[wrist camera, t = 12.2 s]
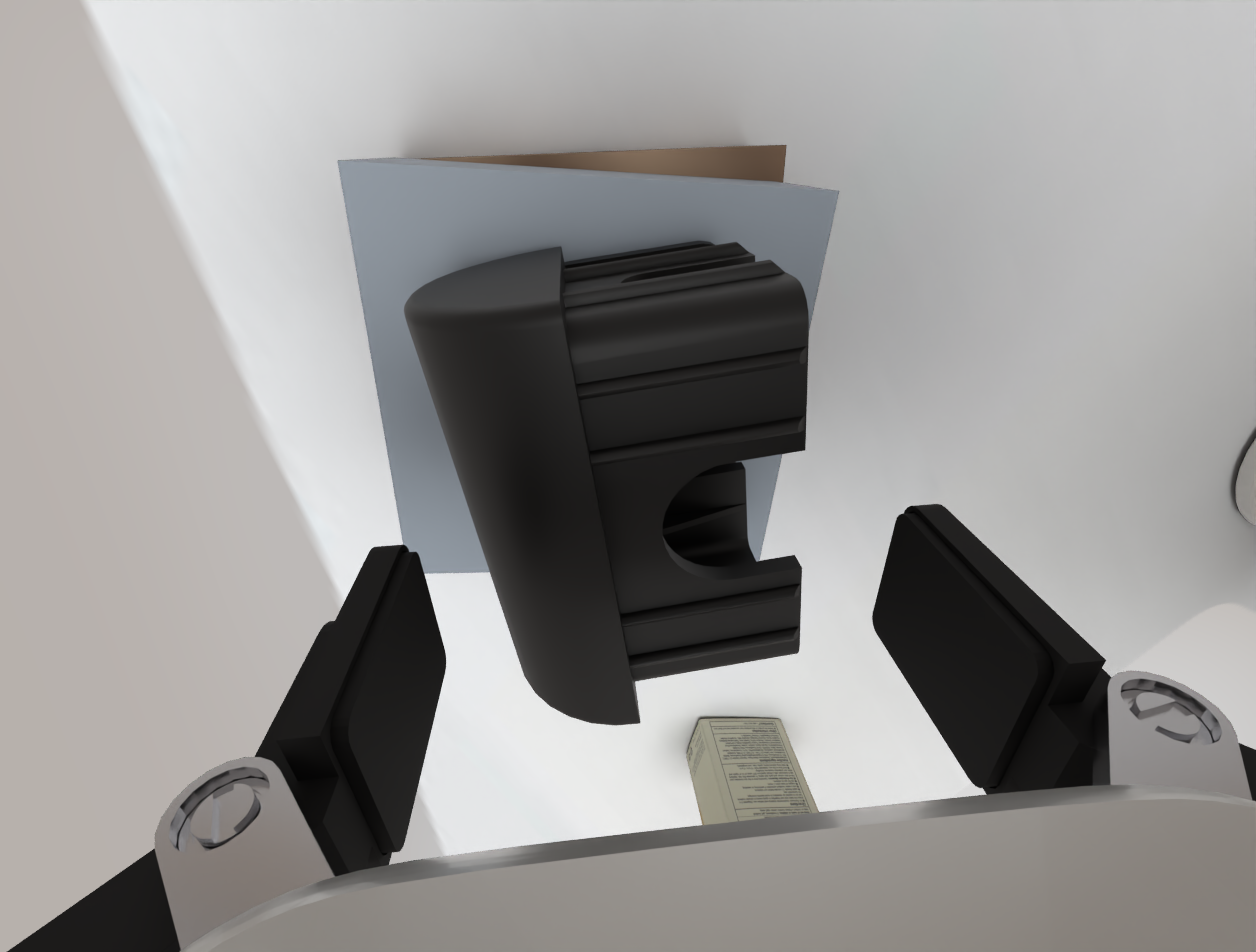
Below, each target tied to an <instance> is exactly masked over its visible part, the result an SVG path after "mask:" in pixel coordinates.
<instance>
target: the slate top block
mask: <svg viewBox="0 0 1256 952" xmlns="http://www.w3.org/2000/svg"><path fill="white" fill-rule="evenodd" d="M338 166H339V172H340V177H341V183H342V189H343V195H344V201H345V207H346V213H347V218H348V224H349V230H350V236H351V242H352V248H353V253H354V259H355V265H356V271H357V277H358V283H359V288H360V294H361V300H362V306H363V312H364V318H365V323H366V329H367V335H368V341H369V347H370V353H371V359H372V364H373V370H374V376H375V382H376V388H377V394H378V399H379V405H380V411H381V417H382V423H383V429H384V434H385V440H386V446H387V452H388V458H389V464H390V470H391V475H392V481H393V487H394V493H395V499H396V505H397V510H398V516H399V522H400V528H401V534H402V540H403V545H405V546H407V548H408V549H409V552H417V553H418V554H419V557H420V560H421V564H422V568H423V571H424V573H473V572H490V571H489V568H488V565H487V562H486V559H485V556H484V553H483V550H482V547H481V544H480V541H479V538H478V535H477V532H476V529H475V526H474V523H473V520H472V517H471V514H470V511H469V508H468V505H467V502H466V499H465V496H464V493H463V490H462V487H461V484H460V481H459V478H458V475H457V472H456V469H455V466H454V463H453V460H452V457H451V454H450V451H449V448H448V445H447V442H446V439H445V436H444V433H443V430H442V427H441V424H440V421H439V418H438V415H437V412H436V409H435V406H434V403H433V400H432V397H431V394H430V391H429V388H428V385H427V382H426V379H425V376H424V373H423V370H422V367H421V364H420V361H419V358H418V355H417V352H416V349H415V346H414V343H413V340H412V337H411V334H410V331H409V328H408V325H407V322H406V319H405V315H404V306H405V304H406V302H407V300H408V299H409V297H410V296H411V294H412V293H414V292H415V291H416V290H418V289H419V288H420V287H422V286H423V285H425V284H427V283H429V282H431V281H433V280H435V279H437V278H439V277H442V276H445V275H447V274H450V273H452V272H455V271H458V270H461V269H465V268H468V267H471V266H474V265H478V264H481V263H485V262H489V261H492V260H496V259H501V258H505V257H509V256H513V255H518V254H523V253H528V252H533V251H538V250H543V249H549V248H555V247H561V248H562V252H563V258H564V262H567V261H573V260H579V259H585V258H591V257H598V256H604V255H610V254H617V253H623V252H629V251H636V250H642V249H648V248H655V247H661V246H667V245H673V244H680V243H686V242H692V241H707V242H711V243H713V244H715V245H719V244H725V243H732V242H738V243H739V244H740V245H741V246H742V247H744V248H745V249H746V250H747V251H748V252H750V253H752V254H754V255H755V262H758V261H764V260H771V261H773V262H774V263H775V264H776V265H778V266H779V267H780V268H781V269H782V270H783V271H785V272H786V273H788V274H790V275H792V276H794V277H795V278H797V279H798V280H799V281H800V283H801V285H802V287H803V289H804V292H805V296H806V299H807V305H808V312H809V328H810V323H811V319H812V314H813V310H814V305H815V300H816V296H817V291H818V286H819V282H820V277H821V273H822V268H823V263H824V259H825V254H826V249H827V245H828V240H829V236H830V231H831V226H832V222H833V217H834V212H835V208H836V203H837V199H838V194H839V191H835V190H829V189H822V188H815V187H809V186H802V185H795V184H789V183H782V182H775V181H760V180H744V179H728V178H712V177H696V176H680V175H664V174H648V173H632V172H616V171H599V170H583V169H567V168H551V167H535V166H519V165H503V164H487V163H471V162H455V161H439V160H423V159H407V158H377V159H357V160H338ZM781 458H782V454H779V455H773V456H767V457H761V458H755V459H749V460H743V461H737V462H742V464H743V465H744V467H745V469H746V499H747V530H748V542H749V546H750V549H751V551H752V553H753V555H754V558H755V560H756V562H757V561H759V559H760V555H761V550H762V545H763V541H764V536H765V532H766V527H767V522H768V518H769V513H770V508H771V504H772V499H773V495H774V490H775V485H776V481H777V476H778V471H779V467H780V462H781Z"/></svg>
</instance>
